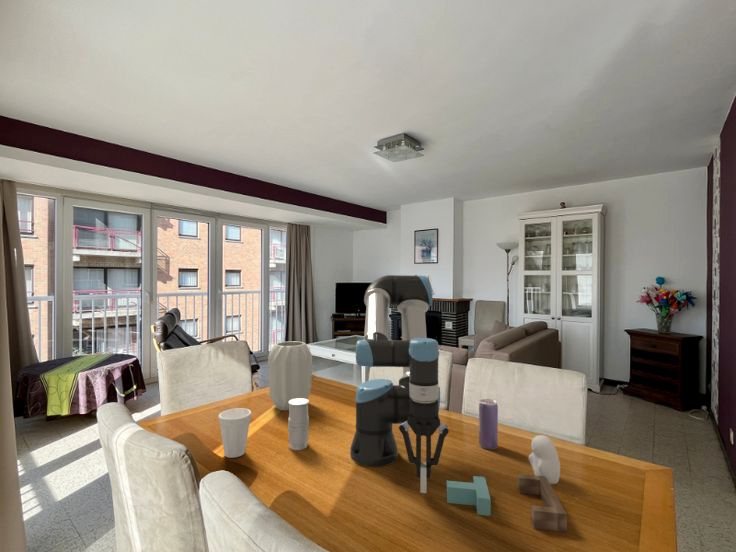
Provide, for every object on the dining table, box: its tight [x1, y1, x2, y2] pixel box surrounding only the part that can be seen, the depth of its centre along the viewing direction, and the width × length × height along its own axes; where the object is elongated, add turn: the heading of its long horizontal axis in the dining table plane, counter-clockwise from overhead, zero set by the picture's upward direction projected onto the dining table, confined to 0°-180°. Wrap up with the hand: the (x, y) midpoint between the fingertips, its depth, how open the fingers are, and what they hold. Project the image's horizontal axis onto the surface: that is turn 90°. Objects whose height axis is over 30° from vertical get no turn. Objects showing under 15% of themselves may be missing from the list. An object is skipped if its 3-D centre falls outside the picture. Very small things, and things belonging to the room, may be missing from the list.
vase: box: [267, 340, 313, 412], centre depth 164 cm, size 20×20×28 cm
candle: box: [287, 398, 310, 451], centre depth 126 cm, size 7×7×15 cm
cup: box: [217, 407, 252, 459], centre depth 120 cm, size 10×10×13 cm
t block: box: [446, 475, 492, 517], centre depth 95 cm, size 10×10×4 cm
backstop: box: [517, 473, 568, 533], centre depth 92 cm, size 7×16×4 cm, turn 170°
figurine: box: [528, 434, 561, 485], centre depth 106 cm, size 7×8×12 cm
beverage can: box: [478, 398, 499, 451], centre depth 126 cm, size 6×6×15 cm
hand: (423, 490), depth 97 cm, fingers closed
